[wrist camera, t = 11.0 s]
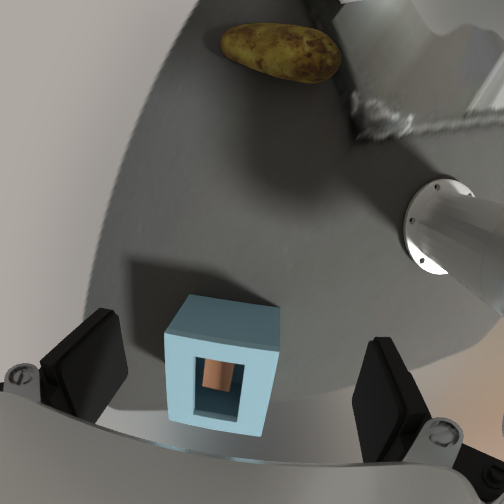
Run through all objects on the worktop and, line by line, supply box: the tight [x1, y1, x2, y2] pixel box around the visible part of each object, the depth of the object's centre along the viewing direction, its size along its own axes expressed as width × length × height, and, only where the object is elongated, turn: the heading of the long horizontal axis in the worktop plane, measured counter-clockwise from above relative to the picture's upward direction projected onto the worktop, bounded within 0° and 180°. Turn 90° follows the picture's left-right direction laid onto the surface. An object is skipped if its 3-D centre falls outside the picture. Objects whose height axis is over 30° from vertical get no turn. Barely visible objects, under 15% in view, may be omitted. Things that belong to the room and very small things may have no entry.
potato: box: [220, 23, 342, 84], centre depth 27 cm, size 8×13×8 cm, turn 51°
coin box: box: [164, 294, 280, 436], centre depth 37 cm, size 12×14×10 cm
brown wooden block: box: [202, 359, 236, 392], centre depth 38 cm, size 4×7×6 cm, turn 170°
